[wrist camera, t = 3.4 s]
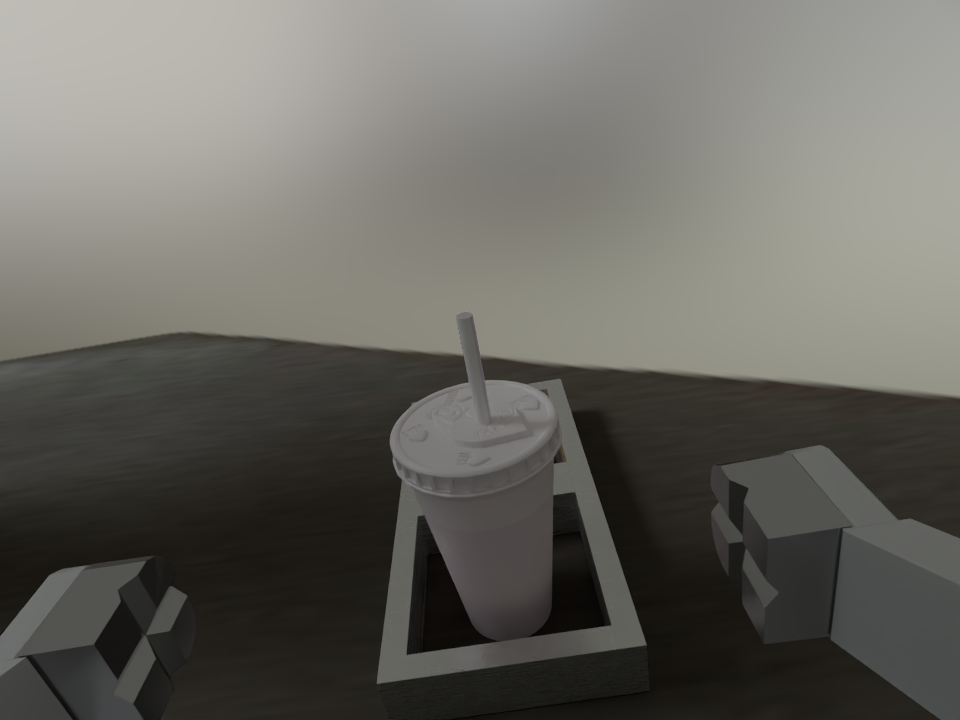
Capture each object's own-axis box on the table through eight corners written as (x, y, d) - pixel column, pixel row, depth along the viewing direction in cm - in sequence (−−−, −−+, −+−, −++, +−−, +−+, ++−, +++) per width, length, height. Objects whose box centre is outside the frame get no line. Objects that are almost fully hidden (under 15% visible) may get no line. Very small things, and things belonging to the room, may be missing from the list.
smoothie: (537, 698, 23) (475, 372, 17) (408, 633, 26) (317, 344, 20) (607, 577, 27) (578, 284, 21) (489, 535, 31) (434, 274, 25)
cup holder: (392, 727, 23) (376, 683, 22) (419, 435, 40) (411, 402, 39) (649, 690, 22) (646, 645, 21) (564, 411, 40) (560, 378, 39)
